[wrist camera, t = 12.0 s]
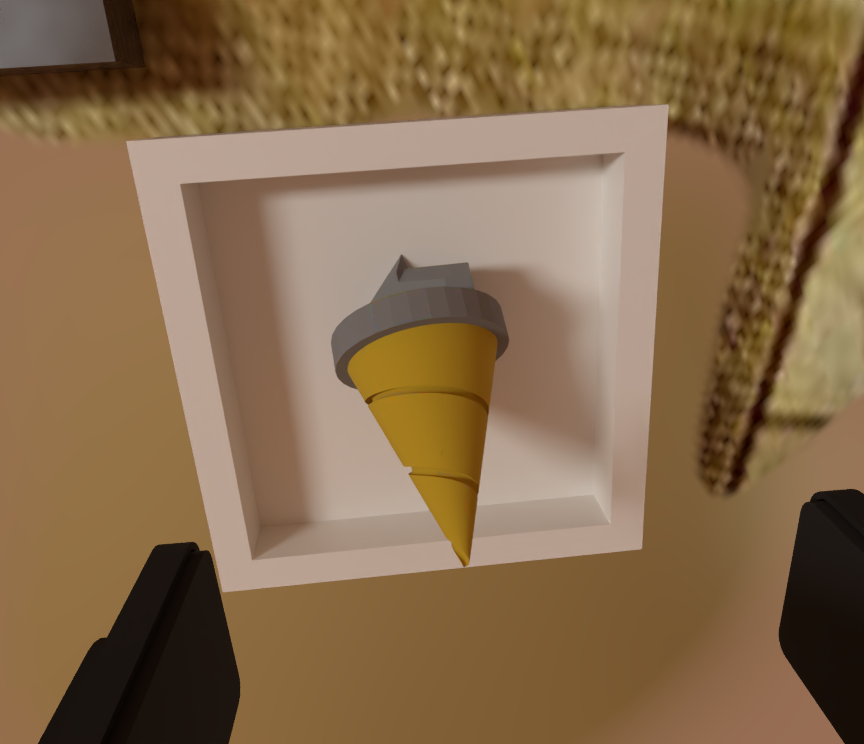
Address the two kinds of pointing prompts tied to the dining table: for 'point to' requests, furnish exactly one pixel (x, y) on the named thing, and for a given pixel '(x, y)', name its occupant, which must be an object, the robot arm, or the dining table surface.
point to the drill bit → (429, 381)
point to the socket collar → (67, 36)
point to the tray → (356, 287)
